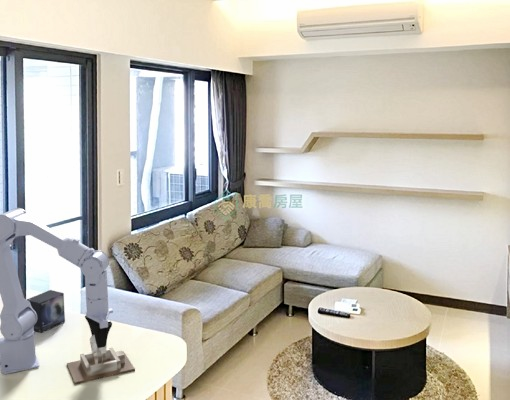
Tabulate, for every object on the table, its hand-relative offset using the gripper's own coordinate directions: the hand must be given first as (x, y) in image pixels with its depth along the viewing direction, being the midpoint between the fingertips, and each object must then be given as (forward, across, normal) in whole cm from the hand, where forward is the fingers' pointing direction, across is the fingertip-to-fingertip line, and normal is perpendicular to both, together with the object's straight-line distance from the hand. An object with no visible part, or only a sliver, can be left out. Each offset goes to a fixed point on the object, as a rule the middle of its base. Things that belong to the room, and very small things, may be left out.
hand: (99, 343), depth 151 cm
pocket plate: (+7, 0, 0) cm, 7 cm away
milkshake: (+7, 0, 0) cm, 7 cm away
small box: (+8, +37, +9) cm, 39 cm away
